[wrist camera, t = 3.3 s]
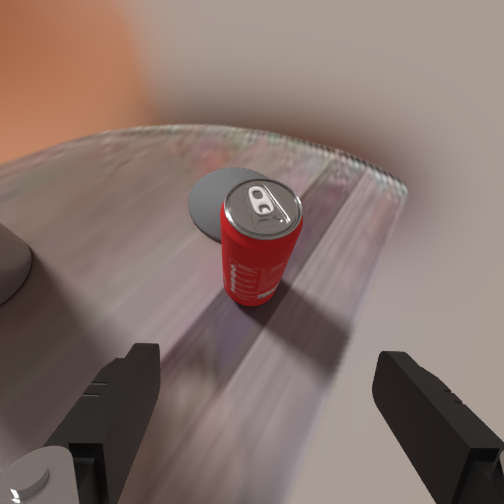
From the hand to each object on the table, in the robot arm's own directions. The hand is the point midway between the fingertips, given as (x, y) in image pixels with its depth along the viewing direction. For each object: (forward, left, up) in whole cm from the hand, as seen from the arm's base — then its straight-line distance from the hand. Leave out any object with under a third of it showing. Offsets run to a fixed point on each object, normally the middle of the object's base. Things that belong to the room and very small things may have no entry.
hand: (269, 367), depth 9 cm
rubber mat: (-16, +11, -14) cm, 23 cm away
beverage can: (-7, +6, -14) cm, 16 cm away
